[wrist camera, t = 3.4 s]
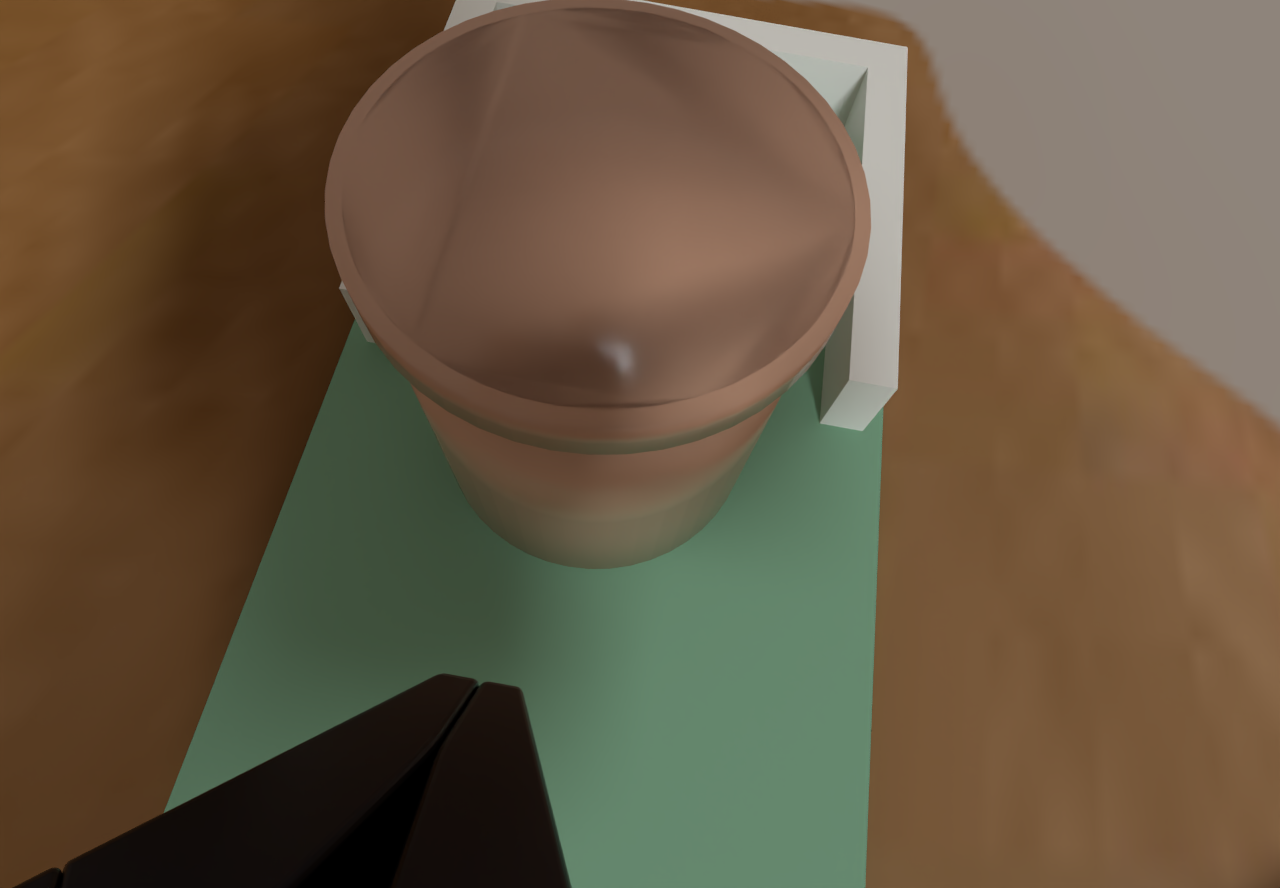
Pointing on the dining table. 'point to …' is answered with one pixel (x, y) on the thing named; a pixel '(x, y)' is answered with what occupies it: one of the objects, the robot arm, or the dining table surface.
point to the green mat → (585, 643)
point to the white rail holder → (875, 121)
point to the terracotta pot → (597, 260)
